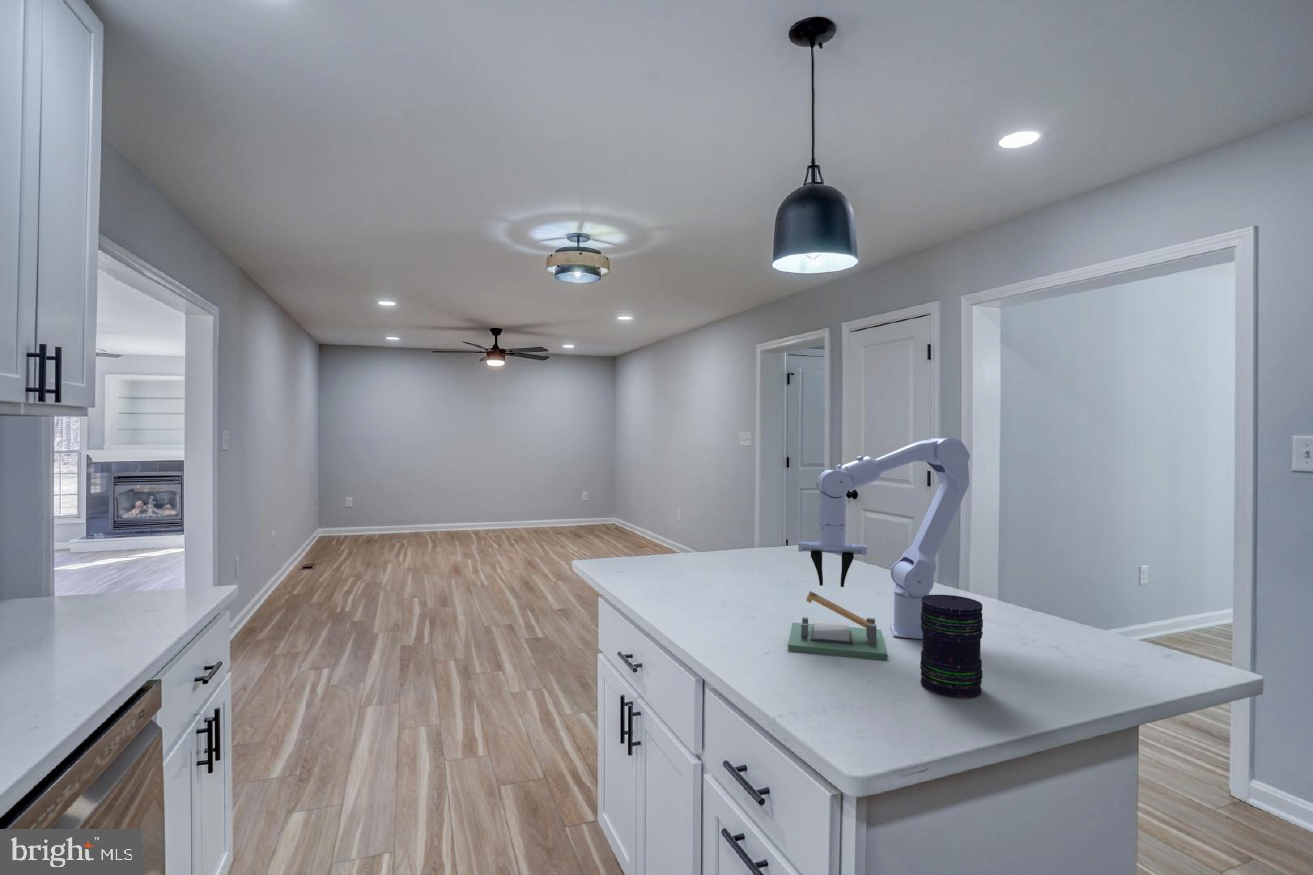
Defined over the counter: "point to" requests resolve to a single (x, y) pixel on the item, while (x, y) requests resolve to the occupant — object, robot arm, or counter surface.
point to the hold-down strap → (837, 609)
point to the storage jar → (951, 646)
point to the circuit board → (839, 648)
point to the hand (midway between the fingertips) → (831, 585)
